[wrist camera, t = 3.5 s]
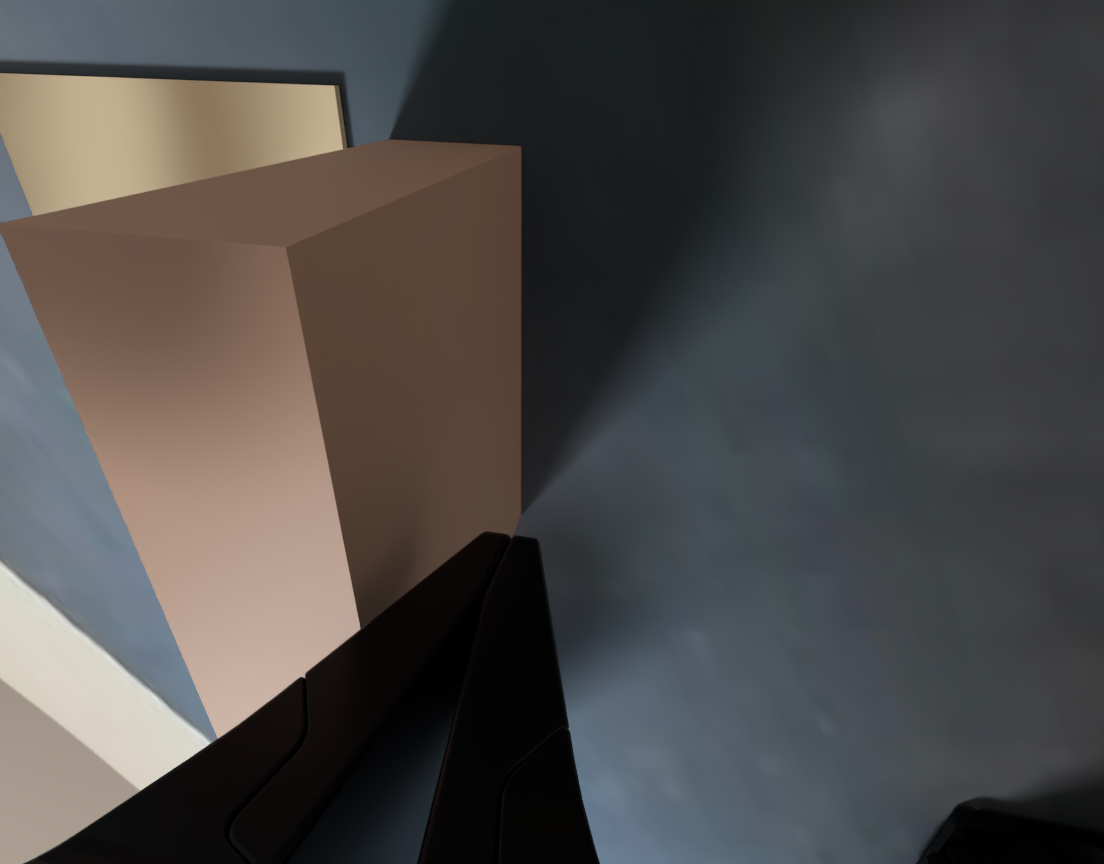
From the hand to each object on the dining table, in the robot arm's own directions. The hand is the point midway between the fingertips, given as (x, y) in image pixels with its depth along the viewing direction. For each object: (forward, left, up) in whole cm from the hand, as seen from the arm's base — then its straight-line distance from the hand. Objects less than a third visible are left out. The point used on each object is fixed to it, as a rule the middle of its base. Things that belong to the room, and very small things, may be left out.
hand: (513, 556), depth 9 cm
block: (+3, 0, -7) cm, 8 cm away
